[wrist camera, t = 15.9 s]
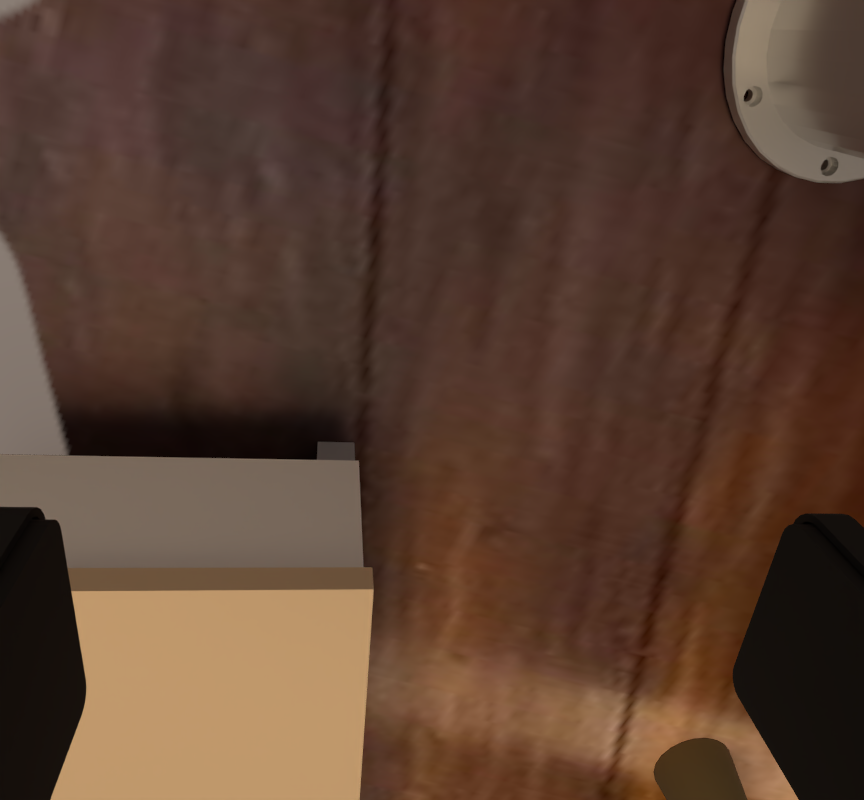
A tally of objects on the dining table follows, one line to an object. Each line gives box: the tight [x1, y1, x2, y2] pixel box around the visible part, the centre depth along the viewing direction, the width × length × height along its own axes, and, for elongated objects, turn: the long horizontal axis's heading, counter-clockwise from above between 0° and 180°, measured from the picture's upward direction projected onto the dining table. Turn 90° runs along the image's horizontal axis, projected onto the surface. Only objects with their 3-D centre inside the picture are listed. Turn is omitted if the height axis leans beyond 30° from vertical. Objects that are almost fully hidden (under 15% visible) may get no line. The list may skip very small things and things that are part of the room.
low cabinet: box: [0, 442, 374, 800], centre depth 35 cm, size 17×19×15 cm
